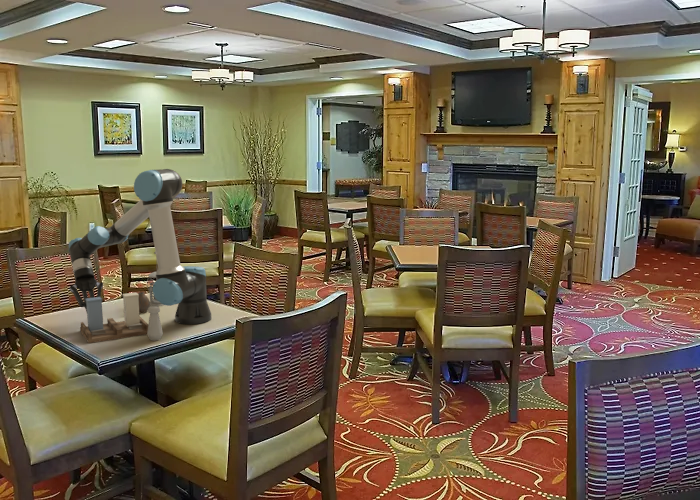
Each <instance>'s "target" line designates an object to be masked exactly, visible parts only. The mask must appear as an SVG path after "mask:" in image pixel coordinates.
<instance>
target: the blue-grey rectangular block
mask: <svg viewBox="0 0 700 500" xmlns="http://www.w3.org/2000/svg"><path fill="white" fill-rule="evenodd" d="M85 300H86V305H87V312H86V316H87V318H86V319H87V326H88V330H89V331H90V332H91V331H93V330H100V329H103V324H104V316H103V303H102V302H103V298H102V297H97V296H96V297H95V296H94V298H90V297H88V298H86V299H85Z"/></svg>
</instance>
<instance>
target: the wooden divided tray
mask: <svg viewBox="0 0 700 500" xmlns="http://www.w3.org/2000/svg"><path fill="white" fill-rule="evenodd" d="M139 317H140V324H134V325H128V327H127V326H126V325H125V320H123V321H116V320H115V319H114V318H113V317H110V318H107V320H106V322H107V323H103V329H100V330H93V331H91V332H90V331H89V330H88V325H86V324H85V322H83V321H81V322H80V332H81V334H82V335H83V337H84V338H85V340H86V342H87V343H88V344H92V343H98V342H105V341H113V340H117V339H124V338H130V337H137V336H142V335H143V336H144V335H147V331H148V325H149V323H148V322H147V321H145V320H144V319H143V318H142V317H141V316H140V315H139Z"/></svg>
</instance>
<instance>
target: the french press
mask: <svg viewBox="0 0 700 500" xmlns="http://www.w3.org/2000/svg"><path fill="white" fill-rule="evenodd" d="M153 254H154V255H156V251H154V253H153ZM155 259H156V260H155V261H156V263H158V262H157V257H156V258H155ZM157 271H158V270H156V271H153V272H150V274H148V278H147V280H146V283H148V281H153V280H154V279H155V278H156V272H157ZM152 278H153V279H152ZM154 283H155V281H153V282H149V286H148V284H146V287H147V290H148V292H149V301H150V306H158V307H163V306H164V305H163V304H161V303H160V302H159V301H157V299H156V298H155V297H154V294H153V285H154Z"/></svg>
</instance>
